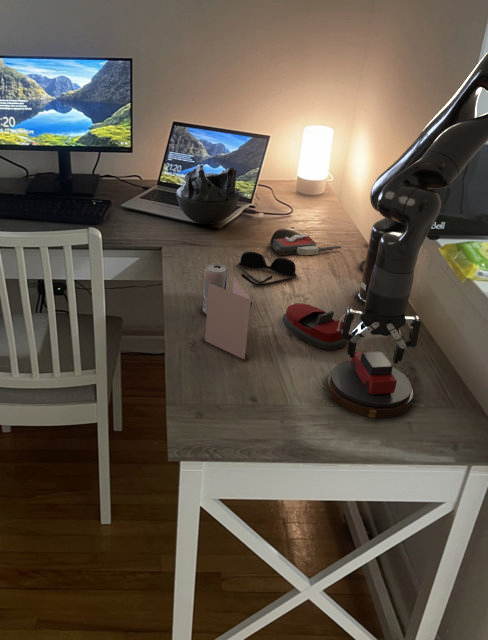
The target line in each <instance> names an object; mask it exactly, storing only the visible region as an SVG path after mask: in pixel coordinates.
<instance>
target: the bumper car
mask: <svg viewBox="0 0 488 640" xmlns="http://www.w3.org/2000/svg"><path fill="white" fill-rule="evenodd" d="M334 315H335V312H334V311H333V310H331V311H327V312H326V311H325V310H323V309H321V308H318V307H316V306H314V305H311V304H307V303H299V302H296V303H293V304H290V305H288V306H287V308H286V311H285V313H284V314H283V315H282V324H283V325H284V327H285V328H287V329H288V330H289V332H290V333H292V334H294V335H295V336H296V337H298V338H299V339H301V340H302V341H304V342H306V343H308V344H309V345H312V346H314V347H316V348H319V349H321V350H325V351H330V350H336V349H339V348H342V347H344V346H346V345H348V342H349V340H348V339H343V338H342V335H341V329H342V325H343V322H344V318H345V314H343V315H341V318H340V319H338V320H335V319H333V318H334Z"/></svg>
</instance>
